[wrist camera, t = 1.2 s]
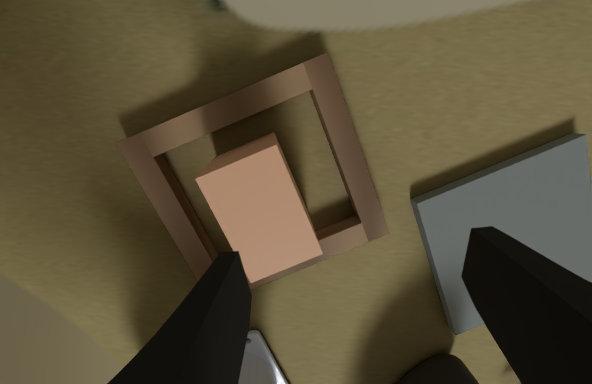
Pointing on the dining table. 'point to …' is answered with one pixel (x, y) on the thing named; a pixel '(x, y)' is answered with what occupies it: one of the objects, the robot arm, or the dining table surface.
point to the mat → (510, 217)
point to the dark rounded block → (440, 372)
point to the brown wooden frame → (236, 106)
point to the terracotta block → (260, 207)
